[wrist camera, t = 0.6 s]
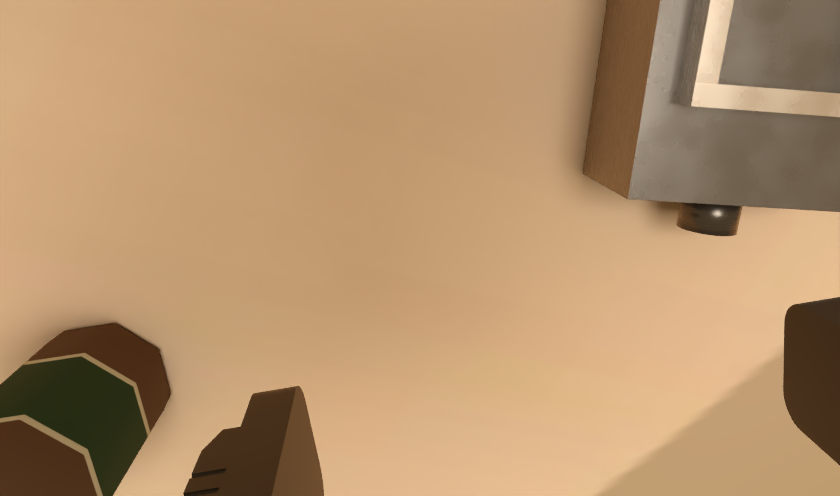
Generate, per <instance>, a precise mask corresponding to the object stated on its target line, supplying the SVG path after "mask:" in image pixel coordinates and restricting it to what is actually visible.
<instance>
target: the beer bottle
mask: <svg viewBox="0 0 840 496" xmlns="http://www.w3.org/2000/svg"><path fill="white" fill-rule="evenodd" d="M170 395H171V394H170V390H169V386H168V383H167V379H166V375H165V372H164V368H163V364H162V361H161V357H160V353H159V350H158V349H157V348H155V347H154V346H152V345H150V344H149V343H147V342H145V341H144V340H142V339H140V338H139V337H137V336H135V335H134V334H132V333H130V332H129V331H127V330H125V329H124V328H122V327H120V326H119V325H117V324H109V325H103V326H96V327H89V328H83V329H76V330H69V331H64V332H62V333H61V334H59V335H58V336H57V337H55V338H54V339H53V340H51V341H50V342H48V343H47V344H46V345H45V346H44V347H43V348H42V349H40V350H39V351H38V352H37V353H36V354H35V355H34V356H32V357H31V358H30V359H29V360H28V361H27V362H26V363H25V364H23V365H22V366H21V367H20V368H19V369H18V370H17V371H15V372H14V373H13V374H12V375H11V376H10V377H9V378H8V379H6V380H5V381H4V382H3V383H2V384H1V385H0V496H113V494H114V492H115V491H116V489H117V487H118V486H119V484H120V482H121V481H122V479H123V477H124V476H125V474H126V472H127V471H128V469H129V467H130V466H131V464H132V462H133V460H134V459H135V457H136V455H137V454H138V452H139V450H140V449H141V447H142V445H143V444H144V442H145V440H146V439H147V437H148V435H149V434H150V432H151V430H152V428H153V427H154V425H155V423H156V422H157V420H158V418H159V417H160V415H161V413H162V412H163V410H164V408H165V406H166V404H167V401H168V399H169V397H170Z"/></svg>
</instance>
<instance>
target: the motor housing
mask: <svg viewBox="0 0 840 496" xmlns="http://www.w3.org/2000/svg"><path fill="white" fill-rule="evenodd" d="M583 174H584V175H586V176H588V177H590V178H591V179H593V180H595V181H597V182H598V183H600V184H602V185H604V186H606V187H607V188H609V189H611V190H613V191H614V192H616V193H618V194H620V195H621V196H623V197H625V198H627V199H634V200H651V201H667V202H681V203H680V209H679V214H678V219H677V226H678V227H680V228H682V229H685V230H688V231H692V232H696V233H701V234H707V235H715V236H733V235H736V234H737V229H738V224H739V220H740V215H741V210H742V206H750V207H766V208H783V209H800V210H816V211H833V212H840V0H607V7H606V14H605V21H604V28H603V35H602V42H601V49H600V56H599V63H598V70H597V77H596V84H595V91H594V98H593V105H592V112H591V119H590V126H589V133H588V140H587V147H586V154H585V161H584V168H583Z"/></svg>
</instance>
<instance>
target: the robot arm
mask: <svg viewBox="0 0 840 496" xmlns="http://www.w3.org/2000/svg"><path fill="white" fill-rule="evenodd" d="M783 388H784V390H783V391H784V399H785V403H786V406H787V409H788V412H789V414H790V416H791V418H792V420H793V421H794V423H795V424H796V426H797V427H798V428H799V429H800V430H801V431H802V432H803V433H804V434H806V435H807V436H808V437H809V438H810V439H811V440H812V441H813V442H814V443H816V444H817V445H818V446H819V447H820V448H821V449H822V450H823V451H824V452H825V453H827V454H828V455H829V456H830V457H831V458H832V459H833V460H834V461H836V462H837V463H838V464H839V465H840V297H837V298H831V299H825V300H819V301H813V302H807V303H801V304H795V305H792V306H791V307H790V308H789V309H788V310H787V313H786V316H785V326H784V385H783ZM183 494H184V496H324V490H323V480H322V473H321V468H320V463H319V459H318V454H317V450H316V446H315V441H314V437H313V432H312V428H311V424H310V419H309V415H308V410H307V406H306V402H305V398H304V394H303V392H302V389H301V388H300V387H299V386H296V387H290V388H284V389H278V390H272V391H266V392H260V393H254V394H253V395H252V397H251V399H250V402H249V405H248V408H247V411H246V413H245V416H244V419H243V422H242V425H241V427H236V428H230V429H224V430H222V431H221V432H220V433H219V434H218V435H217V436H216V437H215V438H214V439H213V440H212V441H211V442H210V443H209V444H208V445H207V446H206V447H205V448H204V449H203V450H202V451H201V454H200V456H199V458H198V461H197V463H196V465H195V468H194V470H193V472H192V478H191V479H189V482H188V484H187V486H186V489H185V491H184V493H183Z"/></svg>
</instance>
